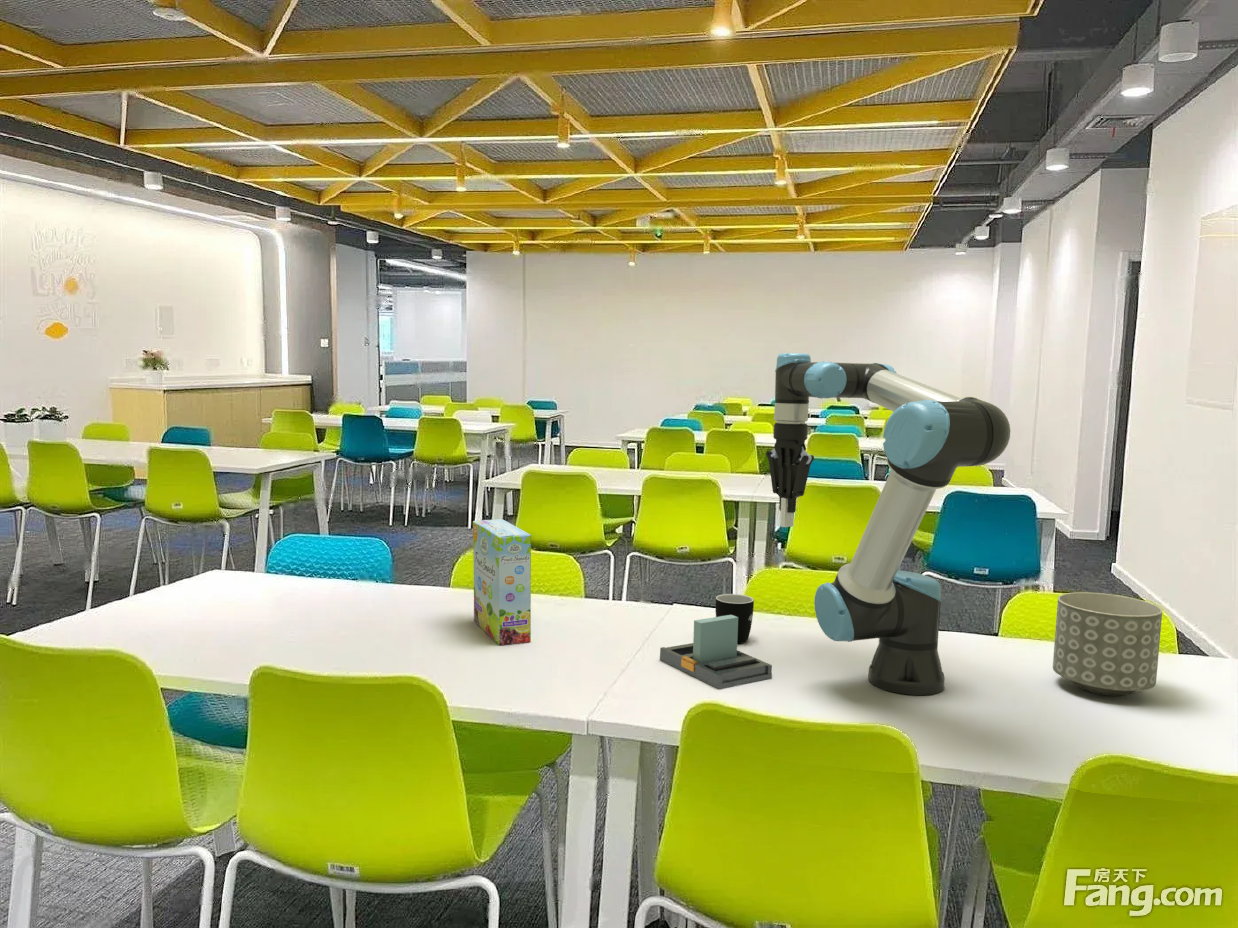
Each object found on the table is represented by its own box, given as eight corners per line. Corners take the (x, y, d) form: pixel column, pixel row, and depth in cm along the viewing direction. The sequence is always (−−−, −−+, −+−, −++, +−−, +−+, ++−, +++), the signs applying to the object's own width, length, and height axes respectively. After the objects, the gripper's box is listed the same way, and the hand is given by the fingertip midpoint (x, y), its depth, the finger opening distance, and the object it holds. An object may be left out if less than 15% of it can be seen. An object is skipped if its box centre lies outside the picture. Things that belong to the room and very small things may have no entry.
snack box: (470, 622, 231) (470, 519, 228) (503, 618, 235) (504, 518, 232) (496, 646, 211) (497, 535, 209) (532, 642, 215) (534, 533, 212)
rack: (771, 678, 194) (772, 661, 194) (717, 689, 187) (718, 672, 186) (710, 650, 212) (710, 635, 212) (658, 659, 205) (659, 644, 204)
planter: (1064, 667, 206) (1071, 587, 204) (1162, 688, 194) (1170, 603, 192) (1040, 689, 191) (1046, 603, 189) (1144, 713, 179) (1152, 621, 178)
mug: (753, 646, 216) (754, 604, 215) (714, 644, 217) (715, 602, 216) (750, 632, 228) (752, 591, 227) (714, 630, 229) (715, 589, 228)
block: (736, 662, 201) (738, 617, 200) (699, 669, 196) (700, 623, 195) (729, 659, 203) (731, 614, 202) (692, 666, 198) (694, 620, 197)
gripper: (824, 423, 205) (819, 529, 208) (782, 420, 216) (778, 520, 218) (800, 424, 201) (795, 532, 203) (758, 420, 212) (754, 523, 214)
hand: (786, 526), depth 211 cm, fingers closed
